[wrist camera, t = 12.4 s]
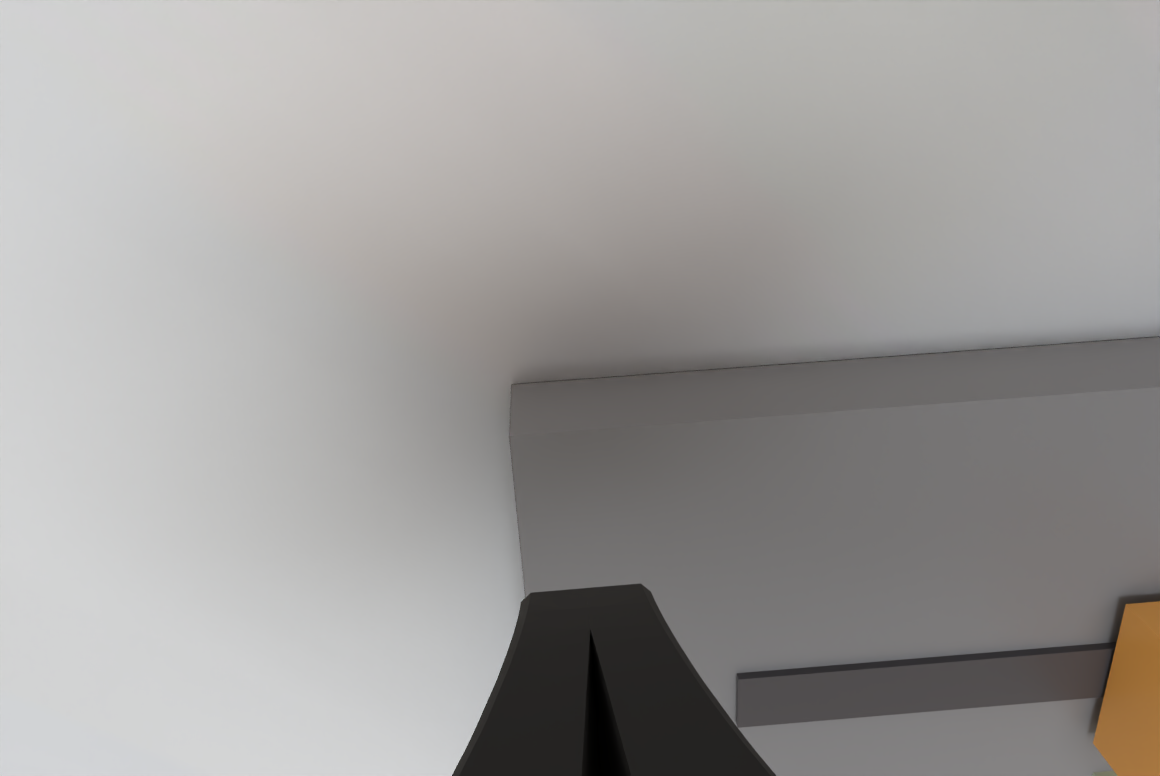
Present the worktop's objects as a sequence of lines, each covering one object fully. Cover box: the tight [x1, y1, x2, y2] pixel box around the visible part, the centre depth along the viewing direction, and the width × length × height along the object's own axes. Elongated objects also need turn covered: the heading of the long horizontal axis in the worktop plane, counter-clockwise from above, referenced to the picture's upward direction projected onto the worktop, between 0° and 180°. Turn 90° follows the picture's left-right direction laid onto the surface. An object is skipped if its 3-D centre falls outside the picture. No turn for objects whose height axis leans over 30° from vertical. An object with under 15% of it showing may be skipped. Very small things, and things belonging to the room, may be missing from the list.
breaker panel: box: [509, 337, 1160, 776], centre depth 21 cm, size 18×14×3 cm
